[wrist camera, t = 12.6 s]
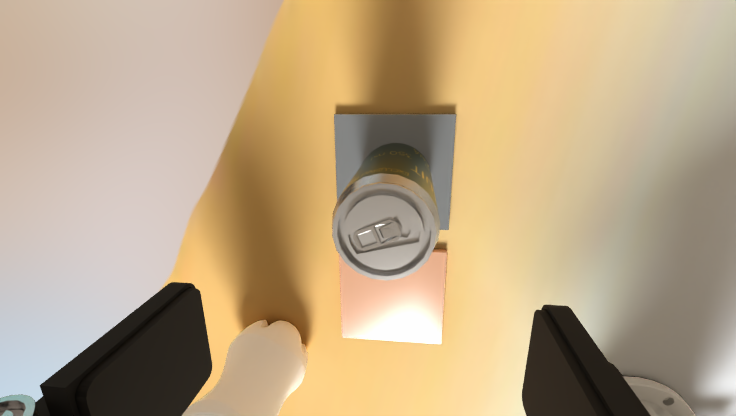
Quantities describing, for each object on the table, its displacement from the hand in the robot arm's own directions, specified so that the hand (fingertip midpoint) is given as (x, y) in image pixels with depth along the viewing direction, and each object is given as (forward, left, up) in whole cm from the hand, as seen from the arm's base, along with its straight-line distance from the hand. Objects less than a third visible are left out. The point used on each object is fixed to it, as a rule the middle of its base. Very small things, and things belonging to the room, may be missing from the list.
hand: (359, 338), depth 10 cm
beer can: (0, 0, -20) cm, 20 cm away
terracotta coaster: (0, +11, -20) cm, 23 cm away
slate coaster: (0, 0, -20) cm, 20 cm away
